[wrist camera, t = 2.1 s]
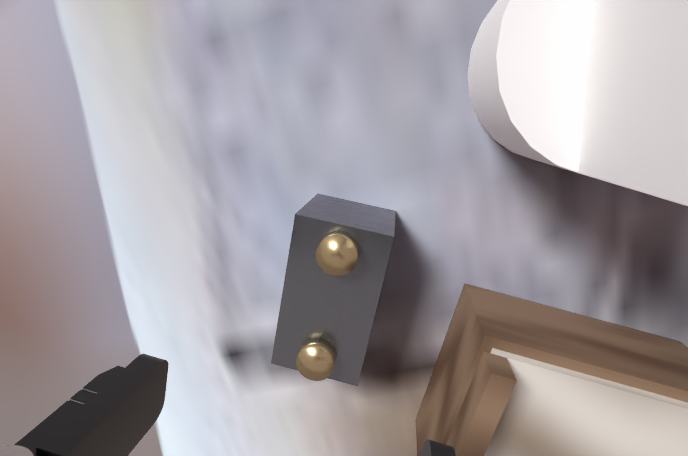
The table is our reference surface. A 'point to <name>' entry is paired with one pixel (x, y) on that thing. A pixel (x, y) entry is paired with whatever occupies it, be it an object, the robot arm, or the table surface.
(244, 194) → the table surface
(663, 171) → the cylinder with rectangular tab
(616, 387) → the stand
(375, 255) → the block
